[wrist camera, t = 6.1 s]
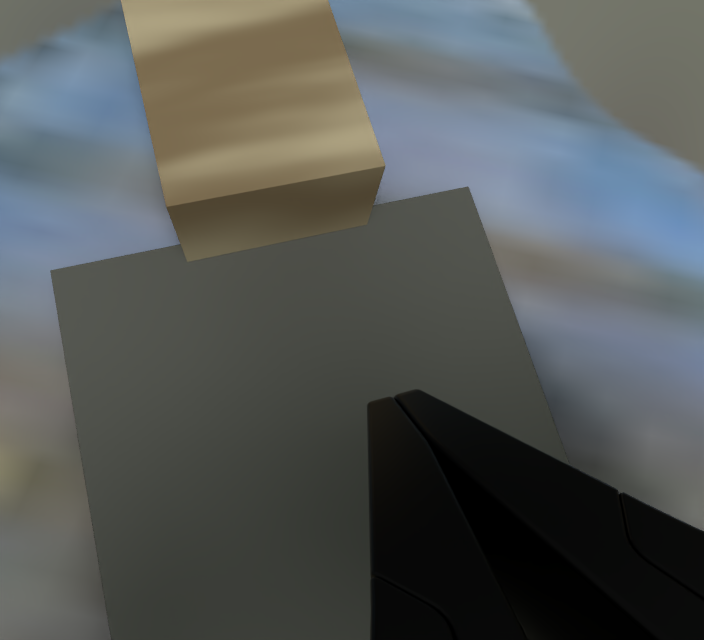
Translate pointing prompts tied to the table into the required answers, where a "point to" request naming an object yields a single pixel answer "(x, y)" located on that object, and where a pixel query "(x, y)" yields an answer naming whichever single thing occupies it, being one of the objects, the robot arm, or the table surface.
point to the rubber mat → (275, 411)
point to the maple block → (253, 121)
